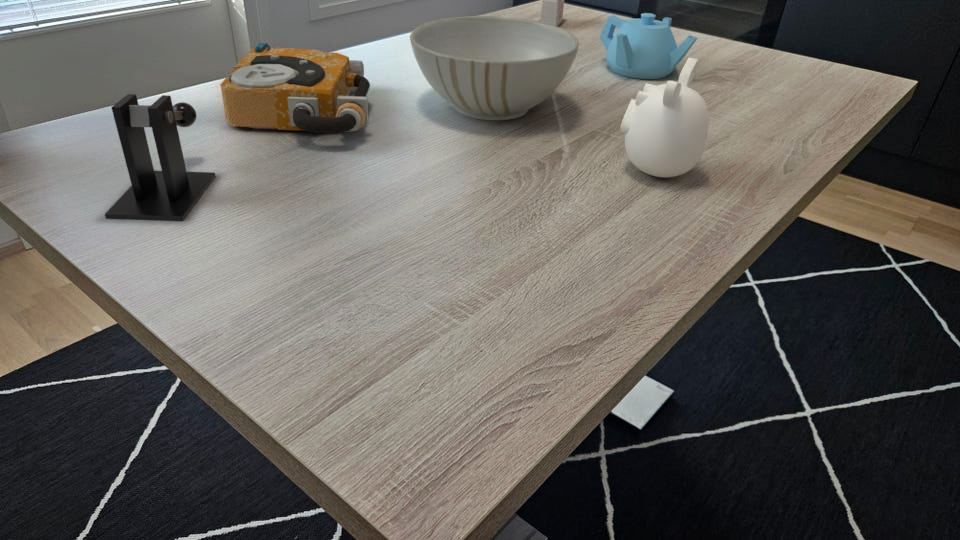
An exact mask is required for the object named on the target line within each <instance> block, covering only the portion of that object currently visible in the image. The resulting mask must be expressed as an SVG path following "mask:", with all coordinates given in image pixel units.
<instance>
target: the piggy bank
mask: <svg viewBox="0 0 960 540" xmlns="http://www.w3.org/2000/svg"><path fill="white" fill-rule="evenodd" d="M698 64H699V59H698V58H694V57H690V56H689V57H688V58H687V60H686V62H685V63H684V65H683V67H682V69H681V71H680V74H679V76H678V79H677V80H678V81H675V80H667V81H666V83H663V84H658V85H655V84H651V83H647V82H646V83H645V84H644V87H643V90H638V91H637V93H636V98H632V99H630V101H629V103H628V105H627V108H626V111H625V113H624V115H623V117H622V120H621V123H620V127H619V133H620V134H622V135H624V150H625V153H626V156H627V157H628V160H629V161H630V162H631V163H632V165H633V166H634V167H636V168H637V169H638V170H640V172H643V173H645V174H647V175H649V176H653V177H656V178H675V177H678V176H681V175H684V174H685V173H687V172H689V171H690V170H692V169H693V168H694V167H695V166H696V165H697V164H698V162H699V161H700V159H701V157H702V156H703V154H704V151H705V148H706V144H707V140H708V135H709V134H708V133H709V112H708V107H707V103H706V101H705V99H704V98H703V97H702V95H701V94H700V93H698V92H697V90H694V89H693V88H691V87H690V86H691V84H692V81H693V79H694V76H695V73H696V71H697V68H698Z"/></svg>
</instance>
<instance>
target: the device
mask: <svg viewBox="0 0 960 540" xmlns="http://www.w3.org/2000/svg"><path fill="white" fill-rule="evenodd" d="M219 86H220V90H221V91H220V92H221V96H222V97H221V99H222V103H223V109H224V115H225V121H226V123H228V124H229V125H231V126H232V127H238V128H239V127H240V128H250V129H255V130H276V129H277V130H279V131H298V132H299V131H301V132H308V133H315V134H330V135H331V134H332V135H333V134H343V133H348V132H356V131H358V130H360V129H361V128H368V127H369V101H368V99H369V97H368V96H367V95H368V92H369V90H370V87H371V84H370V81H369V79H368V78H366V77H365V65H364V62H363V61H362V60H357V59H356V60H355V59H354V60H352V59H351V60H350V58H349V56H348V55H345V54H342V53H339V52H327V51H321V50H319V49H313V48H312V49H311V48H309V49H308V48H293V47H292V48H291V47H274V46H273V47H271V46H270V45H269V43H266V42H258V44H257V45H256V46H254V47H252V48H251V49H250V51H248V53H247V54H245V56H244V57H243V58H242V59H240V60H239V61H238V62H237V63H236V64H235V65H234V66H233V70H232V71H230V73H229V74H228V75H227V76H226V77H225V79H224V80H223V81H222V82H221V83H220V85H219ZM352 89H356V90H355V92H354V95H350V94H351V92H352Z"/></svg>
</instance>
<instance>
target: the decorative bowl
mask: <svg viewBox="0 0 960 540" xmlns="http://www.w3.org/2000/svg"><path fill="white" fill-rule="evenodd" d="M409 35H410V36H409V40H410V44H411V49H412V53H413V55H414V59H415V60H416V63H417V65H418V67H419V70H420V71H421V73H422V75H423V77H424V78H425V80H426V81H427V82H428V84H429V86H430V87H431V88H432V89H433V91H435V92H436V93H437V94H438V95H439V96H440V97H441V98H442V99H443V100H445V102H447V103H449V104H450V105H452V106H453V107H454V109H455V110H456V111H457V112H458V113H460V114H461V115H463V116H466V117H469V118H472V119H476V120H483V121H507V120H513V119H517V118H521V117H522V116H524V115H526V114H527V113H528V112H529V110H530V109H532V108H534V107H536V106H537V105H539V104H541V103H543V101H545V100H546V99H548V97H550V95H552V94H553V93H554V92H555V91H556V89H557V88H558V87H559V86H560V85H561V84H562V82H563V80H564V79H565V78H566V76H567V74H568V73H569V71H570V69H571V67H572V65H573V63H574V61H575V59H576V56H577V55H578V50H579V48H580V41H579V39H578V38H577V36H576V35H575V34H574V33H572V32H570V31H569V30H567V29H565V28H562V27H560V26H558V27H557V26H554V25H551V24H547V23H543V22H541V21H538V20H534V19H528V18H521V17H511V16H497V15H496V16H495V15H470V16H469V15H468V16H456V17H455V16H454V17H447V18H441V19H435V20H431V21H428V22H425V23H422V24H420V25H419V26H417V27H415V28H414V29H413V30H412V31H411V32H410V34H409Z"/></svg>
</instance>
